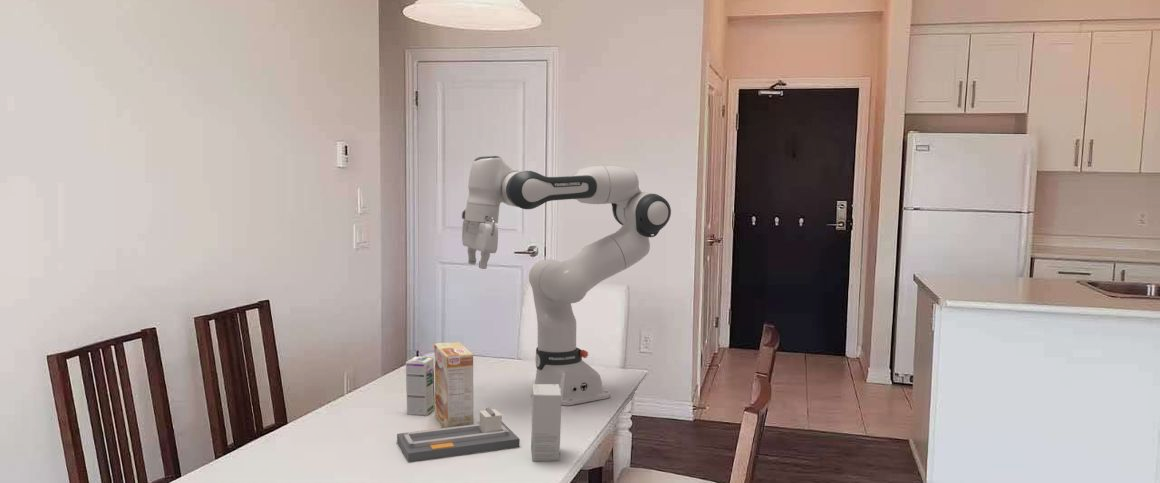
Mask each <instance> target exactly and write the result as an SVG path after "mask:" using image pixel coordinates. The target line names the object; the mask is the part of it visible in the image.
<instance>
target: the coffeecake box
mask: <svg viewBox="0 0 1160 483" xmlns="http://www.w3.org/2000/svg"><path fill="white" fill-rule="evenodd" d="M433 348H434V394H435V409H434V416H435V419H437V421H438V422H439V424H440V425H441V426H442V428H449V427H457V426H465V425H474V420H475V418H474V354H473V353H472V352H471V351H470V350H469V349H468V348H467V347H465V345H464V344H462V343H461V342H460V341H455V342H453V341H452V342H438V343H437V342H436V343H434V347H433Z"/></svg>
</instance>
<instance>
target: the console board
mask: <svg viewBox="0 0 1160 483" xmlns="http://www.w3.org/2000/svg"><path fill="white" fill-rule="evenodd" d="M520 441H521V440H520V438H519V437H518V436H517V434H515V433H514V431H512V430H511V428H510V427H508V426H507V425H506V424H505V423H504V422H503V421H502V431H496V432H488V433H483V432H482V431H481V430H480V423H476V424H474V425H465V426H457V427H449V428H443V427H442V428H431V429H422V430H416V431H409V432H401V433H397V434H396V442H397V445H398V446H399V448H400V449H401V451H402V453H403V455H404V457H405V459H406V461H407V462H408V463H412V462H413V463H414V462H419V461H426V460H434V459H441V458H442V459H443V458H449V457H456V456H462V455H464V456H465V455H471V454H472V455H473V454H477V453H478V454H479V453H486V452H493V451H500V450H508V449H515V448H520V447H521V446H520V445H521V444H520V443H521V442H520Z"/></svg>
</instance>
